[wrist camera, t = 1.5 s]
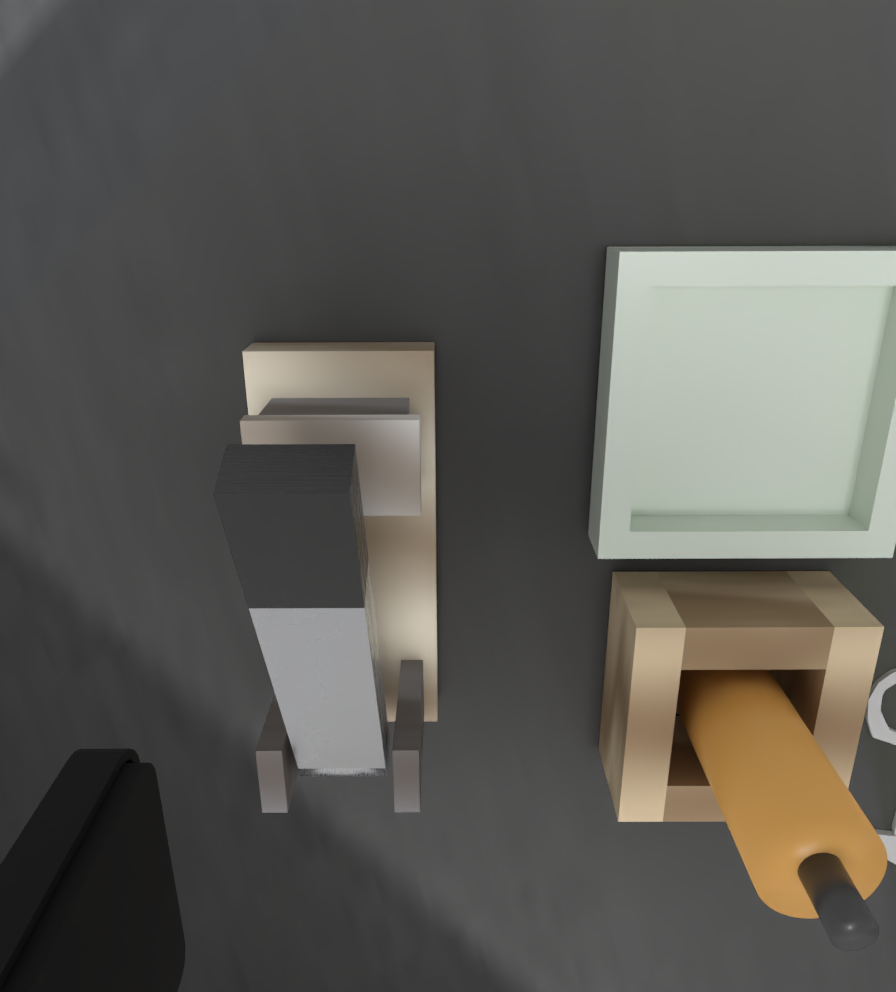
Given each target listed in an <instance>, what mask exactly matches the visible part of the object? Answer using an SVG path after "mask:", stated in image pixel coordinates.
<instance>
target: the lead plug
mask: <svg viewBox="0 0 896 992" xmlns="http://www.w3.org/2000/svg"><path fill="white" fill-rule="evenodd" d="M676 708H677V710H678V713H679V715H680V717H681V720H682V722H683V724H684V726H685V729H686V731H687V733H688V736H689V738H690V740H691V742H692V745H693V747H694V749H695V752H696V754H697V756H698V759H699V761H700V763H701V765H702V768H703V770H704V772H705V775H706V777H707V779H708V781H709V784H710V786H711V788H712V791H713V793H714V795H715V798H716V800H717V802H718V804H719V807H720V809H721V811H722V814H723V816H724V818H725V821H726V823H727V825H728V827H729V830H730V832H731V834H732V837H733V839H734V841H735V843H736V846H737V848H738V850H739V853H740V855H741V857H742V860H743V862H744V864H745V866H746V869H747V871H748V873H749V876H750V878H751V880H752V882H753V885H754V887H755V889H756V891H757V894H758V895H759V897H760V898H761V900H762V901H763V902H764V903H765V904H766V905H768V906H769V907H770V908H772V909H773V910H775V911H777V912H779V913H782V914H784V915H787V916H791V917H797V918H808V919H810V918H820V920H821V922H822V924H823V926H824V928H825V930H826V932H827V934H828V936H829V938H830V940H831V942H832V944H833V945H834V946H835V947H836V948H838V949H840V950H843V951H858V950H861V949H864V948H866V947H868V946H870V945H871V944H872V943H873V942H874V941H875V940H876V939H877V937H878V935H879V926H878V924H877V922H876V920H875V919H874V917H873V915H872V914H871V912H870V910H869V908H868V907H867V905H866V903H865V902H864V900H865V899H866V898H867V897H869V896H870V895H871V894H872V893H873V892H874V890H875V889H876V888H877V887H878V885H879V884H880V883H881V881H882V879H883V877H884V874H885V872H886V868H887V852H886V848H885V846H884V843H883V842H882V840H881V838H880V837H879V835H878V834H877V832H876V831H875V829H874V828H873V826H872V825H871V823H870V822H869V820H868V819H867V817H866V816H865V814H864V813H863V811H862V810H861V808H860V807H859V805H858V804H857V802H856V800H855V799H854V797H853V796H852V794H851V793H850V791H849V790H848V788H847V787H846V785H845V784H844V782H843V781H842V779H841V778H840V776H839V775H838V773H837V772H836V770H835V769H834V767H833V766H832V764H831V763H830V761H829V760H828V758H827V757H826V755H825V754H824V752H823V750H822V749H821V747H820V746H819V744H818V743H817V741H816V740H815V738H814V737H813V735H812V734H811V732H810V731H809V729H808V728H807V726H806V725H805V723H804V722H803V720H802V719H801V717H800V716H799V714H798V713H797V711H796V710H795V708H794V707H793V705H792V704H791V702H790V700H789V699H788V697H787V696H786V694H785V693H784V691H783V690H782V688H781V687H780V685H779V684H778V682H777V681H776V679H775V678H774V676H773V675H772V673H771V672H770V670H681V674H680V682H679V691H678V699H677V707H676Z"/></svg>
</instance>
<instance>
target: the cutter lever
mask: <svg viewBox="0 0 896 992" xmlns="http://www.w3.org/2000/svg"><path fill="white" fill-rule="evenodd" d="M213 495H214V498H215V501H216V504H217V508H218V511H219V514H220V517H221V520H222V524H223V527H224V530H225V533H226V537H227V540H228V543H229V546H230V550H231V553H232V556H233V559H234V562H235V566H236V569H237V572H238V575H239V579H240V582H241V585H242V588H243V591H244V595H245V598H246V601H247V604H248V608H249V611H250V614H251V617H252V621H253V624H254V627H255V630H256V633H257V637H258V640H259V643H260V646H261V650H262V653H263V656H264V659H265V663H266V666H267V669H268V672H269V675H270V679H271V682H272V685H273V688H274V692H275V695H276V698H277V701H278V705H279V708H280V711H281V714H282V717H283V721H284V724H285V727H286V730H287V734H288V737H289V740H290V743H291V746H292V750H293V753H294V756H295V759H296V763H297V766H298V770H299V774H300V776H387V774H388V765H389V728H388V721H387V712H386V704H385V695H384V687H383V678H382V670H381V661H380V653H379V644H378V635H377V627H376V618H375V610H374V601H373V593H372V584H371V576H370V567H369V559H368V550H367V541H366V533H365V524H364V516H363V507H362V499H361V490H360V482H359V473H358V465H357V456H356V447H355V444H227V446H226V450H225V454H224V457H223V461H222V464H221V468H220V472H219V475H218V479H217V483H216V486H215V490H214V493H213Z"/></svg>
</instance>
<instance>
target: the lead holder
mask: <svg viewBox="0 0 896 992" xmlns="http://www.w3.org/2000/svg"><path fill="white" fill-rule="evenodd" d="M883 631H884V626H883V625H882V624H881V623H880V622H879V621H878V620H877V619H876V618H875V617H874V616H873V615H872V614H871V613H870V612H869V611H868V610H867V609H866V608H865V607H864V606H863V605H862V604H861V603H860V602H859V601H858V600H857V599H856V598H855V597H854V596H853V595H852V594H851V593H850V592H849V591H848V590H847V589H846V587H845V586H844V585H843V584H842V583H841V582H840V581H839V580H838V579H837V578H836V577H835V576H834V575H833V574H832V573H831V572H830V571H691V572H613V574H612V587H611V599H610V612H609V624H608V637H607V649H606V662H605V674H604V687H603V699H602V712H601V725H600V737H599V752H600V756H601V760H602V763H603V767H604V771H605V774H606V778H607V782H608V786H609V789H610V793H611V797H612V801H613V804H614V808H615V812H616V816H617V819H618V822H719V821H725V818H724V816H723V814H722V811H721V809H720V807H719V804H718V802H717V800H716V798H715V795H714V793H713V791H712V788H711V786H710V784H709V781H708V779H707V777H706V775H705V772H704V770H703V768H702V765H701V763H700V761H699V759H698V756H697V754H696V752H695V749H694V747H693V745H692V742H691V740H690V738H689V736H688V733H687V731H686V729H685V726H684V724H683V722H682V720H681V717H680V716H676V707H677V699H678V691H679V682H680V674H681V670H770V672H771V673H772V675H773V676H774V678H775V679H776V681H777V682H778V684H779V685H780V687H781V688H782V690H783V691H784V693H785V694H786V696H787V697H788V699H789V700H790V702H791V704H792V705H793V707H794V708H795V710H796V711H797V713H798V714H799V716H800V717H801V719H802V720H803V722H804V723H805V725H806V726H807V728H808V729H809V731H810V732H811V734H812V735H813V737H814V738H815V740H816V741H817V743H818V744H819V746H820V747H821V749H822V750H823V752H824V754H825V755H826V757H827V758H828V760H829V761H830V763H831V764H832V766H833V767H834V769H835V770H836V772H837V773H838V775H839V776H840V778H841V779H842V781H843V782H844V784H845V785H846V787H847V788H848V787H849V783H850V778H851V774H852V769H853V765H854V760H855V756H856V751H857V747H858V742H859V738H860V733H861V729H862V724H863V720H864V715H865V711H866V707H867V702H868V698H869V693H870V689H871V684H872V680H873V675H874V671H875V666H876V662H877V657H878V653H879V648H880V644H881V640H882V635H883Z"/></svg>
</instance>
